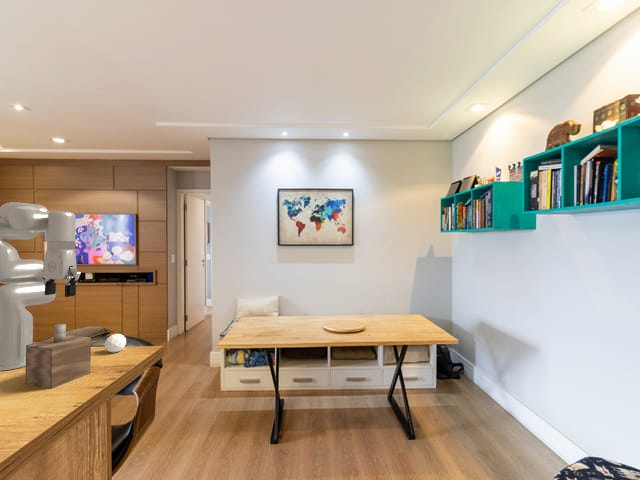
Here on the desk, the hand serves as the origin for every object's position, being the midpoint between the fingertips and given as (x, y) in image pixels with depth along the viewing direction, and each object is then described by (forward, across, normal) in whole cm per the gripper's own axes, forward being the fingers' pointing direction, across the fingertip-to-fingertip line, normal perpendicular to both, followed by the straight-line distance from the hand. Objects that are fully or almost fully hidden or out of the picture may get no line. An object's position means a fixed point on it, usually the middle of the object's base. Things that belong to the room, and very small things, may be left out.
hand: (60, 295), depth 106 cm
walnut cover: (+29, +1, 0) cm, 29 cm away
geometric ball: (+29, -5, +26) cm, 39 cm away
